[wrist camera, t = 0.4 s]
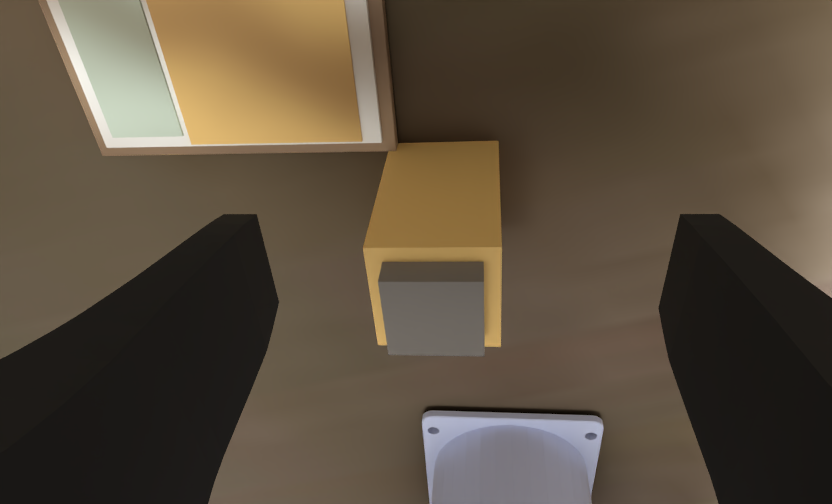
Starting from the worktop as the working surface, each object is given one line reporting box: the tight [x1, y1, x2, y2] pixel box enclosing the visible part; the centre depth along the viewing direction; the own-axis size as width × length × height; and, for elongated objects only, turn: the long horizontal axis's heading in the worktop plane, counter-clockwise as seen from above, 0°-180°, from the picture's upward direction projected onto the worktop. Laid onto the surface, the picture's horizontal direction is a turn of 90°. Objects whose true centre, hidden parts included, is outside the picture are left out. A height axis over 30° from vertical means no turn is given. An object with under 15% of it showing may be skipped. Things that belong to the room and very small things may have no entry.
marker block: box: [363, 141, 502, 356], centre depth 18 cm, size 4×4×6 cm
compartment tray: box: [38, 0, 398, 156], centre depth 17 cm, size 10×10×1 cm
